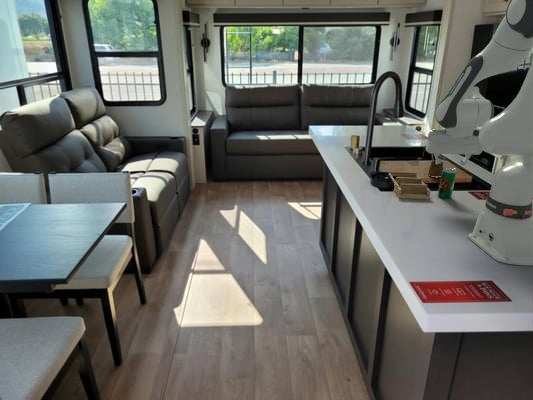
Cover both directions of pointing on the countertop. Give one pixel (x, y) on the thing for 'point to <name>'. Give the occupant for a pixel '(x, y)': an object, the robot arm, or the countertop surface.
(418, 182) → the rack
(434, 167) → the utensil holder
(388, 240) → the countertop surface
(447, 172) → the soda can
